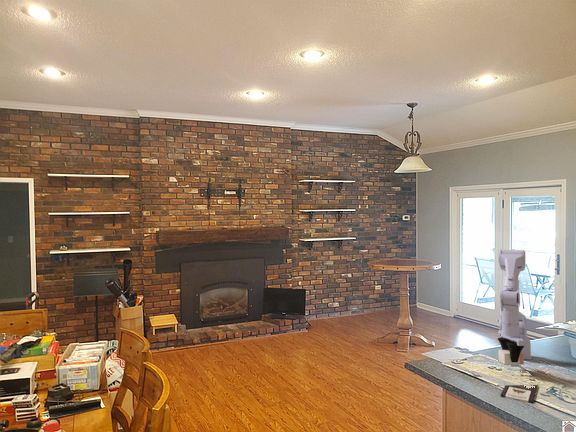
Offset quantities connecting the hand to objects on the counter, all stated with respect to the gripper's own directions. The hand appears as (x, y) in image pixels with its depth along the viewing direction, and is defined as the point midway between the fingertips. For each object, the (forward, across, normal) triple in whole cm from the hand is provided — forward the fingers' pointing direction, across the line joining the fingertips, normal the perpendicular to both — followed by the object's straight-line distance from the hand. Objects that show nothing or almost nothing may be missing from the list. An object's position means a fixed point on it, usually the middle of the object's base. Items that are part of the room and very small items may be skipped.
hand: (510, 359), depth 156 cm
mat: (+4, +3, +5) cm, 7 cm away
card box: (+1, 0, 0) cm, 1 cm away
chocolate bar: (+5, -17, +6) cm, 19 cm away
